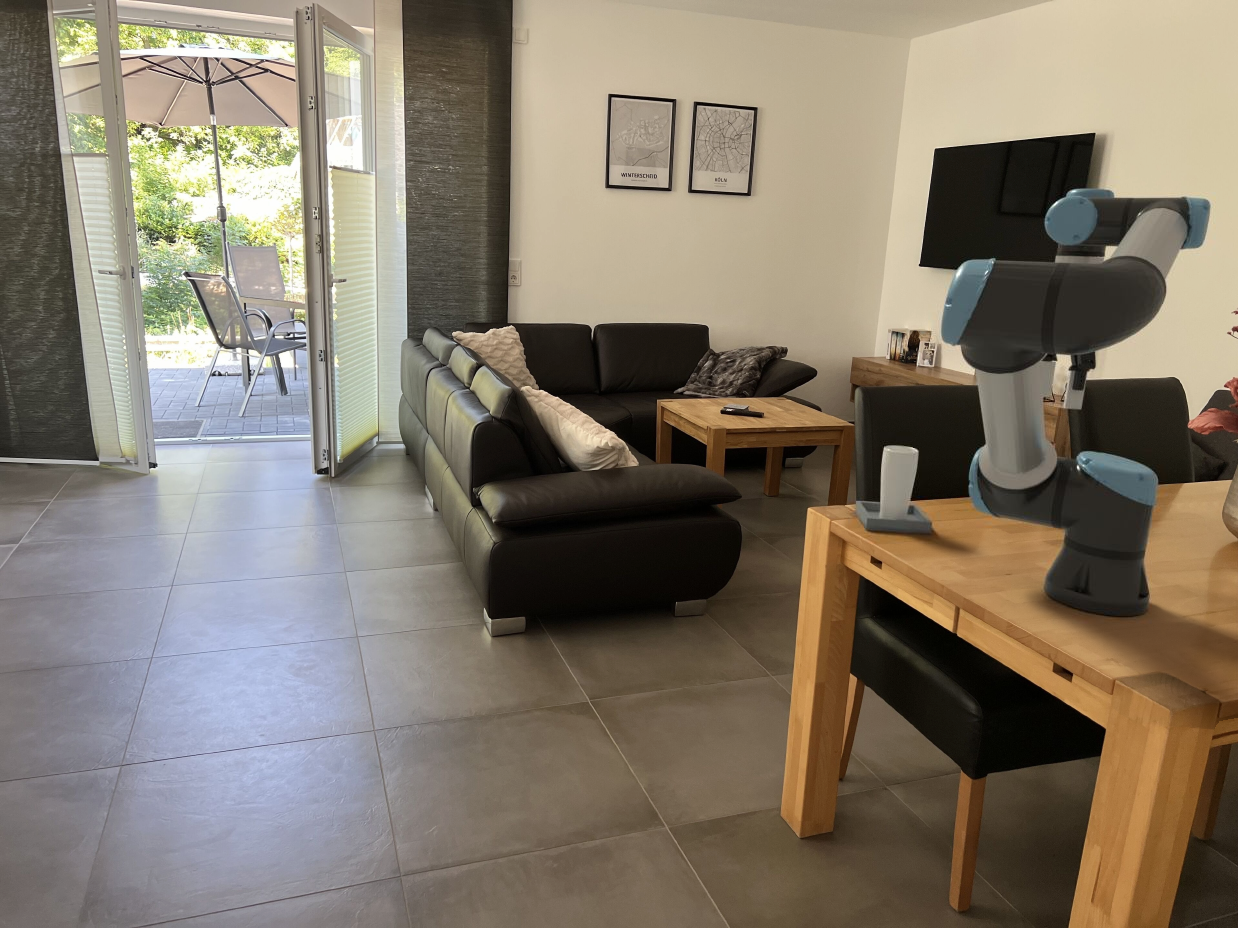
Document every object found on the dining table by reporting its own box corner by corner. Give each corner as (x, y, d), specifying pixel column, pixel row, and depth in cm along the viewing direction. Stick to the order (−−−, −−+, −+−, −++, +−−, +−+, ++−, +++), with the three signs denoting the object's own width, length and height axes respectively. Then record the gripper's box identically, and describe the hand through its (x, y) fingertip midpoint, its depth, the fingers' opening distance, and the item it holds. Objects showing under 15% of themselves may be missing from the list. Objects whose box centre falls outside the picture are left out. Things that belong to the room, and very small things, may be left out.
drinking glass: (914, 526, 176) (923, 453, 172) (880, 525, 176) (889, 452, 172) (903, 516, 182) (912, 446, 179) (871, 515, 182) (879, 444, 179)
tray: (930, 534, 174) (932, 522, 173) (865, 530, 175) (867, 518, 174) (915, 516, 186) (916, 504, 186) (854, 512, 187) (856, 500, 187)
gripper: (1132, 285, 141) (1109, 415, 146) (1069, 281, 165) (1051, 392, 170) (1084, 283, 142) (1062, 413, 147) (1027, 279, 166) (1011, 390, 171)
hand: (1056, 402), depth 159 cm, fingers open, 13 cm apart
